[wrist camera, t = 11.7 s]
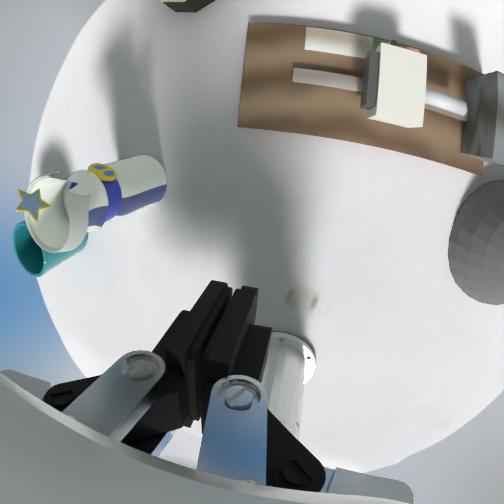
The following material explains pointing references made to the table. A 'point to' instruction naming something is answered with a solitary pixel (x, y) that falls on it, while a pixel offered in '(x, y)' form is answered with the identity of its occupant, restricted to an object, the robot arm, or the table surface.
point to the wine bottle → (187, 5)
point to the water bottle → (89, 200)
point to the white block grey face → (400, 87)
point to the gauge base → (349, 96)
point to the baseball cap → (480, 245)
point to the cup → (38, 252)
